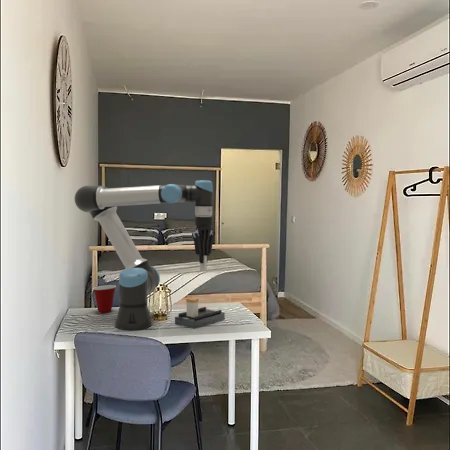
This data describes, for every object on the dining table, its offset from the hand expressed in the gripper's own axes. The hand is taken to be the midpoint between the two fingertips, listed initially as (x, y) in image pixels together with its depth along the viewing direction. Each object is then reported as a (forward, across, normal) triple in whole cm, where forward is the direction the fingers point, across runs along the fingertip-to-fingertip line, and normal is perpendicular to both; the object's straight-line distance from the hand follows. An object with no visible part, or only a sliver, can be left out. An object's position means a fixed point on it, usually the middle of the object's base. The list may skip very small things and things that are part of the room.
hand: (203, 270), depth 215 cm
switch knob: (+19, -7, 0) cm, 20 cm away
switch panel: (+22, -2, 0) cm, 22 cm away
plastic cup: (+23, -18, +46) cm, 54 cm away
